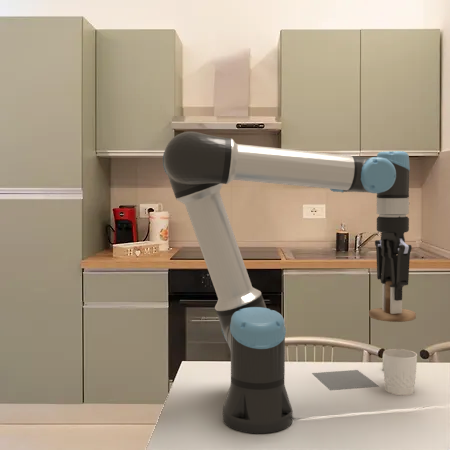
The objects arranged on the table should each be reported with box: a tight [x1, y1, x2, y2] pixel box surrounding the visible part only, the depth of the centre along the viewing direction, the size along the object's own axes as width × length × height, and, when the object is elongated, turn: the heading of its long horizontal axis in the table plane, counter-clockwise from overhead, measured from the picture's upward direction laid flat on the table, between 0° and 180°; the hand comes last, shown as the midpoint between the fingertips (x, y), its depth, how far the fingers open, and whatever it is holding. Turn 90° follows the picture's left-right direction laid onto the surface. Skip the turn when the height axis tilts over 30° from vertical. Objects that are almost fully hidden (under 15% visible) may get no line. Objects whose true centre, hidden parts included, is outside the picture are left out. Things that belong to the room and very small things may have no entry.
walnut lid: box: [368, 281, 417, 323], centre depth 143 cm, size 11×11×8 cm
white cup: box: [382, 348, 418, 396], centre depth 143 cm, size 8×8×10 cm
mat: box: [311, 369, 380, 391], centre depth 151 cm, size 13×13×1 cm
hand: (392, 311), depth 143 cm, fingers closed on walnut lid, 3 cm apart
